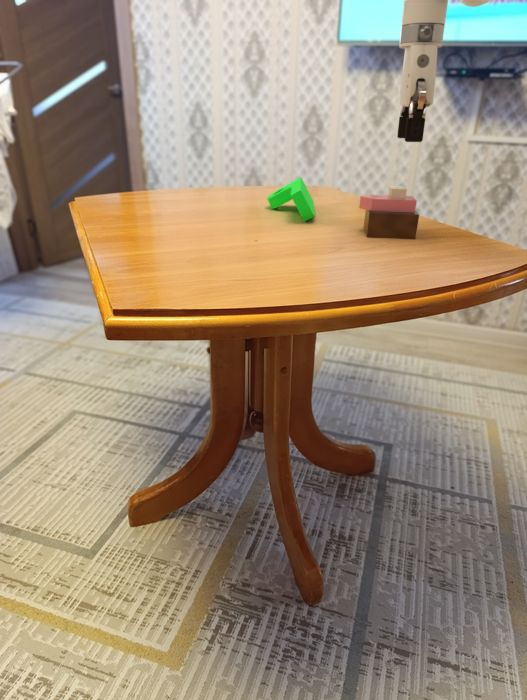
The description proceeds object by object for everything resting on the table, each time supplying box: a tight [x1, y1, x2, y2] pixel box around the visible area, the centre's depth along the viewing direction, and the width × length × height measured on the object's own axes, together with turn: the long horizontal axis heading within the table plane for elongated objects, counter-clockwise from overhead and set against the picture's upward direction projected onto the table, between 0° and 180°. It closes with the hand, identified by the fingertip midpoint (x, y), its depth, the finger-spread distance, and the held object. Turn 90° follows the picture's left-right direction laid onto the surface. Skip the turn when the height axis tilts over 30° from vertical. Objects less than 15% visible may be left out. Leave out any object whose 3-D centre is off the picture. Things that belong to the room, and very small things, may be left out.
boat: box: [358, 185, 418, 213], centre depth 106 cm, size 11×5×4 cm, turn 85°
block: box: [363, 209, 420, 240], centre depth 108 cm, size 10×8×5 cm
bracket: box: [266, 176, 316, 222], centre depth 123 cm, size 20×10×7 cm
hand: (409, 139), depth 100 cm, fingers open, 9 cm apart
